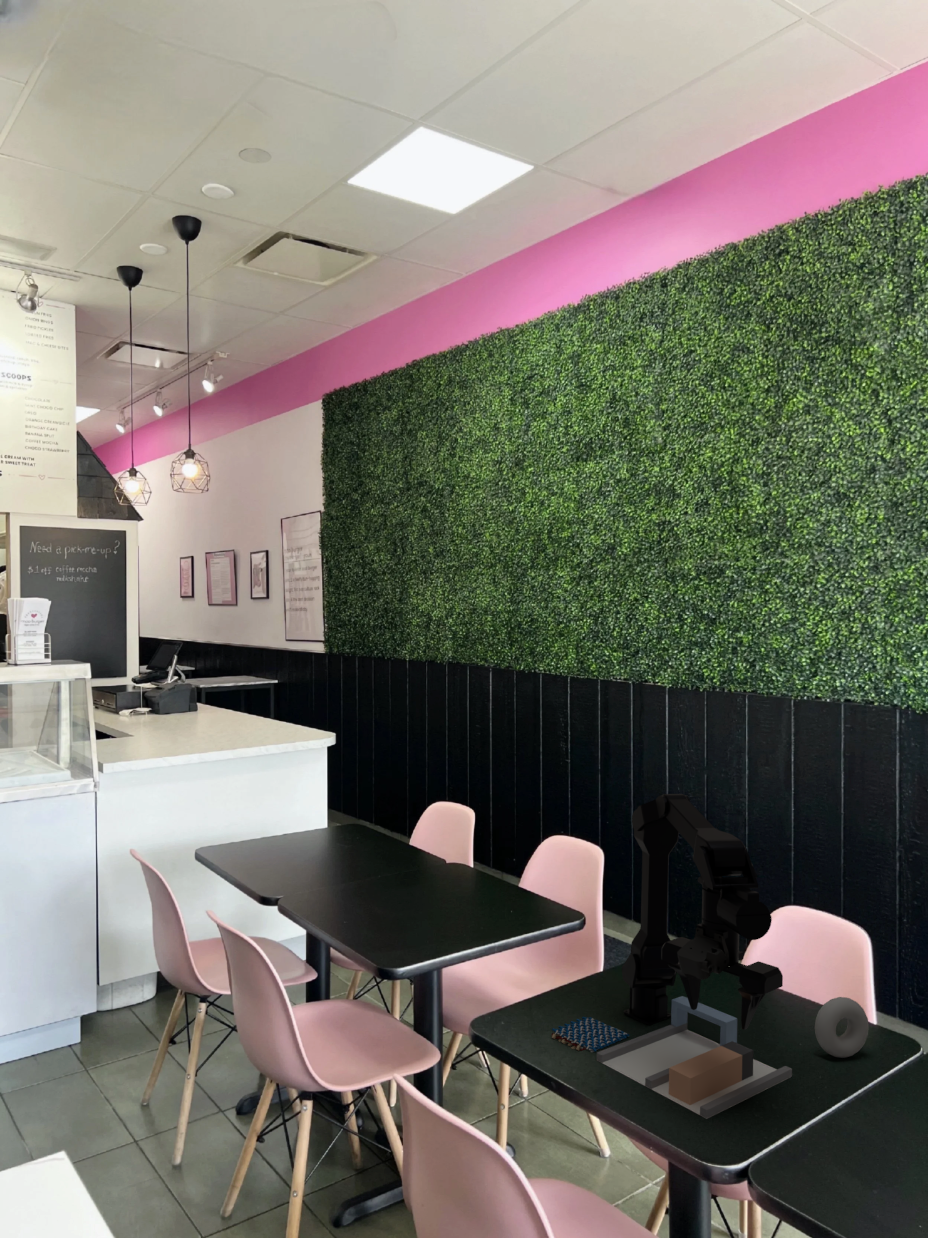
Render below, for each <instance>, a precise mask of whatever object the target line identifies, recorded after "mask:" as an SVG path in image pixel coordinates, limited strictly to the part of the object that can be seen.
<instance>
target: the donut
mask: <svg viewBox="0 0 928 1238" xmlns="http://www.w3.org/2000/svg"><path fill="white" fill-rule="evenodd" d="M843 1019H846V1021H847V1027H846V1030H845V1031H844V1033H843V1034H841V1035H837V1026H838V1024H839V1022H840V1021H841V1020H843ZM869 1025H870V1024H869V1019H868V1016H867V1014H866V1011H865V1010H864V1008H863V1007H862V1006H861V1005H860V1004H859V1003H858V1002H857V1001H856V1000H854V999H851V998H850V997H844V996H838V997H834V998H831V999H829V1000H828V1001H826V1002H825V1003H824V1004H823V1005H822V1006H821V1008H820V1009H819V1010H818V1012H817V1015H816V1018H815V1023H814V1032H815V1037H816V1040H817V1042H818V1044H819V1047H820V1048H822V1049H823V1051H824V1052H826V1054H828V1055H831V1056H832V1057H835V1058H842V1059H843V1058H844V1059H846V1058H848V1057H853V1056H854V1055H855V1054H856V1053H858V1052H860V1050H861V1049H862V1047H864V1045H865V1043H866V1041H867V1039H868V1036H869V1027H870V1026H869Z"/></svg>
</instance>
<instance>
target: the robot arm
mask: <svg viewBox="0 0 928 1238" xmlns="http://www.w3.org/2000/svg"><path fill="white" fill-rule="evenodd" d="M631 823H632V825H631V826H632V828H633V837H634V838H635V840H636V842H637V844H638V846H639V848H640V849H641V853H642V858H641V896H640V897H641V899H640V900H641V901H640V902H641V903H640V927H639V928H640V929H639V930H638V931H637V933H636V935H635V936H634V938H633V940H632V941H631V944H630V945H631V946H630V954H629V955H628V957H627V958H626V960H625V961H624V963H623V964H622V966H621V973H622V974H621V975H622V980H623V981H624V982H625V983H626V984H627V985H628V986H629V1005H628V1006H629V1008H627V1009H625V1010H623V1014H624V1015H626V1016H628V1017H630V1018H632V1019H634V1020H637V1021H639V1022H641V1023H642V1024H645V1025H648V1026H652V1025H654V1024H657V1023H660V1022H662V1021H666V1020H667V1019H671V1013H669V1012H668V1009H669V1008H668V1001H669V997H668V994H667V987H669V986H670V987H674V986H675V982H676V978H677V974H678V976H679V979H680V980H681V982H682V985H683V989H684V991H685V993H686V998H688V1001H689V1004H690V1007H691V1009H692V1010H695V1009H697V1006H698V1002H699V1000H700V991H701V983H702V982H701V981H702V980H708V979H709V978H710V977H711V974H712V973H715V974H717V975H720V974H721V973H722V972H724V973H728V974H731V975H733V976H736V977H739V980H738V981H739V983H740V986H741V987H739V988H737V990H738V993H739V995H740V996H741V1013H740V1015H741V1016H740V1023H741V1024H740V1025H741V1030H743V1031H745V1030H747V1029H748V1028H749V1026H750V1024H751V1022H752V1020H753V1018H754V1015H755V1014H756V1012H757V1010H758V1008H759V1005H760V1004H761V1002H762V1000H763V999H764V997H765V996H766V994H768V993H771V992H773V991H776V990H778V989H780V988H782V987H784V986H783V982H784V981H783V979H784V977H783V973H782V971H781V970H780V968H779V967H778V966H775V965H771V964H768V963H765V962H763V961H759V960H758V961H755V962H753V963H750V964H748V965H745V964H743V963H740V962H739V961H741V960H743V959H744V951H741V950H740V936H742V937H743V938H745V939H747V940H751V941H756V940H759V939H761V938H763V937H764V936H765V935H766V934H768V932H769V930H770V928H771V926H772V920H773V919H772V918H773V917H772V915H771V911H770V910H769V908H768V907H767V905H766V904H765V903H763V902H761V901H760V893H759V892H758V891H756V890H752V889H758V888H759V884H758V880H757V879H758V875H757V874H758V873H757V872H756V870H755V867H754V865H753V863H752V860H751V858H750V855H749V851H748V849H747V848H746V846H745V844H744V843H743V841H742V840H741V839H739V838H738V837H736V836H735V835H733V834H732V833H730V832H725V831H723V830H719V829H718V828H715V826H713V824H711V822H710V821H709V820H708V819H707V818H706V817H705V816H704V815H703V814H702V813H701V812H700V811H699V810H698V809H697V808H696V807H695V806H694V805H693V804H692V803H691V799H690V797H689V795H685V794H683V793H663V794H662V795H658V796H657V797H656V798H655V799H653V800H650V801H648V802H645V803H642V804H641V805H639V806H637V808H636V809H635V810H634V811H633V813H632V815H631ZM679 836H681V837H682V838H683V839H684V840H685V841H686V842H687V844H689V846H690V847H691V848H692V850H693V855H692V861H693V863H694V864H695V865H696V868H697V870H698V872H699V874H700V876H699V877H698V878H697V882H698V883H699V884H700V885H702V887H701V888H702V889H701V892H702V893H701V923H698V924H696V928H695V934H694V938H692V939H690V938H686V937H684V936H681V937H677V938H674V939H671V938H670V936H669V935H668V903H669V902H668V899H669V862H670V861H669V860H670V853H671V852H673V849H674V848H675V847H676V845H677V844H678V842H679ZM741 875H742V876H741Z"/></svg>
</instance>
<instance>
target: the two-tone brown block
mask: <svg viewBox="0 0 928 1238" xmlns="http://www.w3.org/2000/svg"><path fill="white" fill-rule="evenodd" d="M753 1059H754V1049H751V1048H749V1047H746V1046H745V1045H742V1044H740V1043H738V1042H737V1043H736V1042H733V1041H731V1042H729V1043H727V1044H724V1045H722V1046H720V1047H717V1048H715V1049H712V1050H710V1051H708V1052H705V1053H703V1054H701V1055H698V1056H696V1057H694V1058H691V1059H689V1060H686V1061H684V1062H682V1063H679V1064H677V1065H675V1066H672V1067H670V1068H669V1095H671V1096H673V1097H675V1098H677V1099H679V1100H681V1101H683V1102H685V1103H687V1104H688V1105H691V1104H694V1103H696V1102H698V1101H700V1100H702V1099H704V1098H706V1097H708V1096H711V1095H713V1094H715V1093H717V1092H719V1091H721V1090H723V1089H725V1088H728V1087H730V1086H732V1085H734V1084H736V1083H738V1082H740V1081H742V1080H744V1079H747V1078H749V1077H751V1076H753Z"/></svg>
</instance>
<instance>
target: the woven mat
mask: <svg viewBox="0 0 928 1238" xmlns="http://www.w3.org/2000/svg"><path fill="white" fill-rule="evenodd" d="M557 1027H558V1028H551V1031H553V1032H554V1033H553V1032H552V1033H551V1035H550V1036H551V1038H552V1039H553V1040H558V1042H559V1043H560V1042H561V1043H562V1044H563V1045H566V1044H567V1046H568V1047H570V1048H571V1049H572V1050H576V1051H579V1052H582V1051H585V1050H589V1051H590V1053H597V1052H598V1050H602V1049H604V1048H605V1047H609V1046H610V1045H612V1044H613V1045H614V1044H616V1043H617V1042H621V1040H626V1039H627V1037H630V1033H627V1032H625V1031H623V1030H621V1029H618V1028H616V1027H613V1026H611V1025H608V1024H605V1023H604V1022H602V1021H599V1020H598V1019H594V1018H593V1017H591V1016H589V1017H587V1016H582V1017H581V1019H579V1018H576V1020H575V1021H573V1020H572V1021H570V1023H568V1024H567V1023H564V1026H562V1025H558V1026H557Z"/></svg>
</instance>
